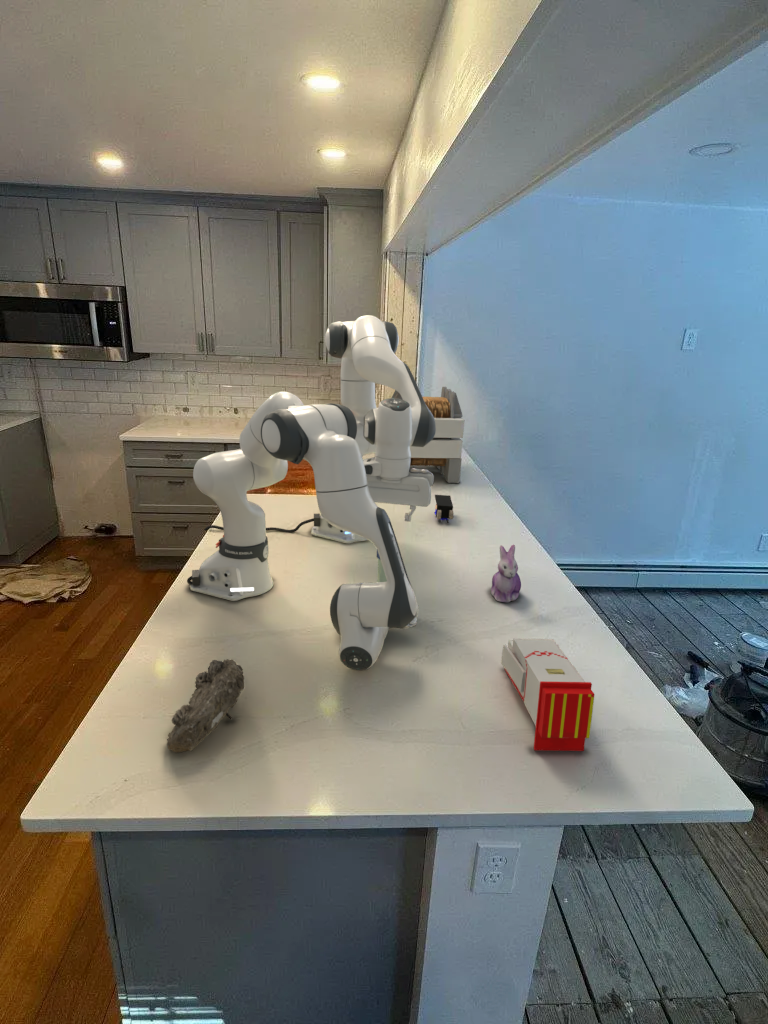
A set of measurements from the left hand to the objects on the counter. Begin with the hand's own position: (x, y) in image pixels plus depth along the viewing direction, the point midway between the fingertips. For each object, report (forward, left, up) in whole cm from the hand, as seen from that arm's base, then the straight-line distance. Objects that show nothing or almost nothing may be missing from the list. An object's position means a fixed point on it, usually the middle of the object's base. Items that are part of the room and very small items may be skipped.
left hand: (382, 594), depth 147 cm
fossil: (-24, -47, -5) cm, 53 cm away
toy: (+38, -28, -5) cm, 47 cm away
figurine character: (+9, +75, -5) cm, 76 cm away
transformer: (-8, +135, -5) cm, 136 cm away
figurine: (+32, +18, -5) cm, 37 cm away
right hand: (0, +4, +19) cm, 20 cm away
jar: (0, +4, -5) cm, 7 cm away
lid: (0, +4, +10) cm, 11 cm away
